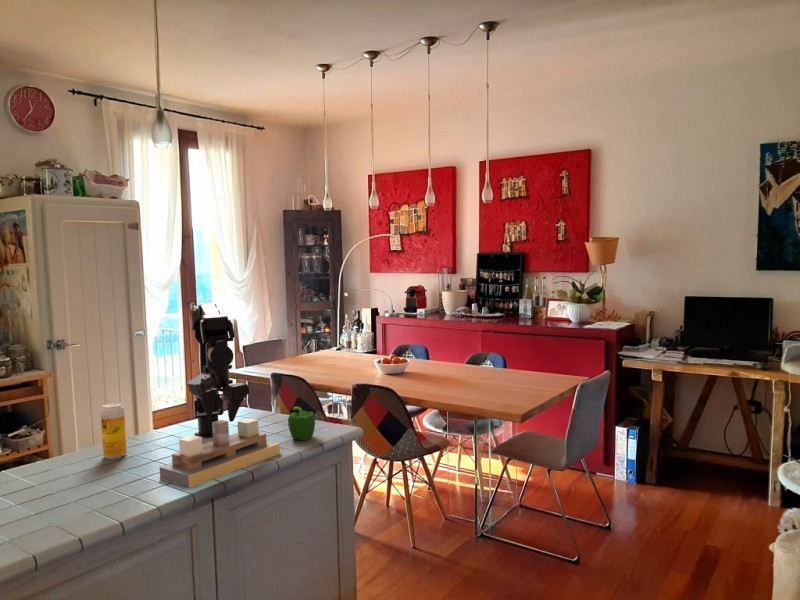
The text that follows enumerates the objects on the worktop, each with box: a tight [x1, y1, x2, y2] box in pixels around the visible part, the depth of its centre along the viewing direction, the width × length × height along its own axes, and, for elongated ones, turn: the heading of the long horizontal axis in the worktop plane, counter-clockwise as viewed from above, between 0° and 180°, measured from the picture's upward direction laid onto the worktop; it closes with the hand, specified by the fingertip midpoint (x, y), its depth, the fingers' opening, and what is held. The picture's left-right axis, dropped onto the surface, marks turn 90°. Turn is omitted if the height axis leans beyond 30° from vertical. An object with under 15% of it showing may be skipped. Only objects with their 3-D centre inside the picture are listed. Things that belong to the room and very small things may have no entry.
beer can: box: [100, 402, 128, 460], centre depth 174 cm, size 6×6×15 cm
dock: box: [159, 439, 281, 489], centre depth 163 cm, size 13×30×3 cm, turn 145°
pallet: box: [171, 419, 267, 471], centre depth 163 cm, size 8×25×9 cm, turn 145°
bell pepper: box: [287, 406, 316, 441], centre depth 186 cm, size 8×8×10 cm
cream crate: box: [178, 434, 203, 457], centre depth 155 cm, size 4×4×4 cm
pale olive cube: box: [237, 417, 259, 437], centre depth 171 cm, size 4×4×4 cm
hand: (220, 419), depth 163 cm, fingers open, 9 cm apart
